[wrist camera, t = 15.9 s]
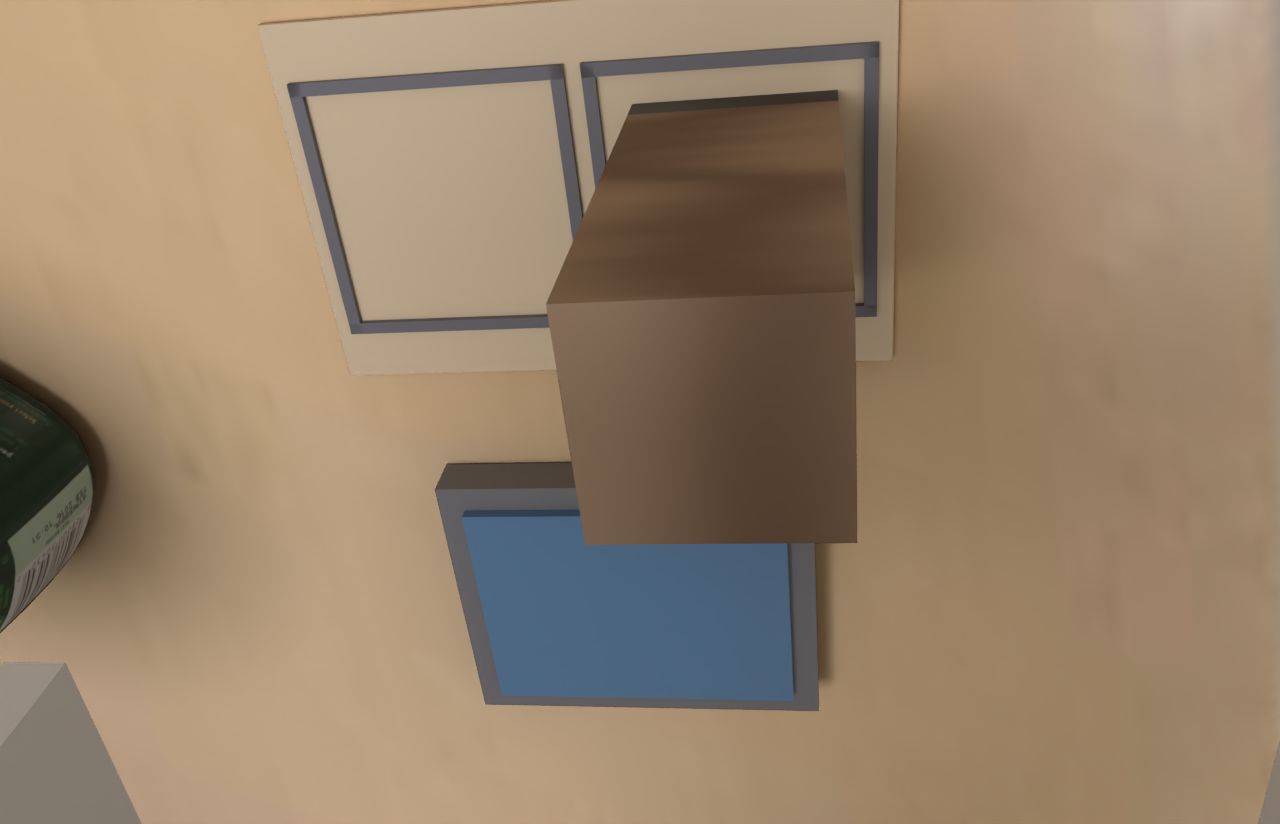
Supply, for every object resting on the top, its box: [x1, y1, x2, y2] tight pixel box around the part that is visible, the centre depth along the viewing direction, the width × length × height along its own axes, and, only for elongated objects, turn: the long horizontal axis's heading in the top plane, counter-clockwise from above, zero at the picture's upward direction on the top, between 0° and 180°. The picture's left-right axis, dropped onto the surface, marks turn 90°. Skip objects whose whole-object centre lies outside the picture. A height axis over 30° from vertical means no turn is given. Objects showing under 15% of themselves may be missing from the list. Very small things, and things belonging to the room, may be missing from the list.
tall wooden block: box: [546, 90, 857, 545], centre depth 22 cm, size 4×4×10 cm
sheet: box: [257, 0, 899, 376], centre depth 27 cm, size 14×9×1 cm, turn 96°
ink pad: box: [435, 462, 819, 711], centre depth 32 cm, size 10×8×2 cm
